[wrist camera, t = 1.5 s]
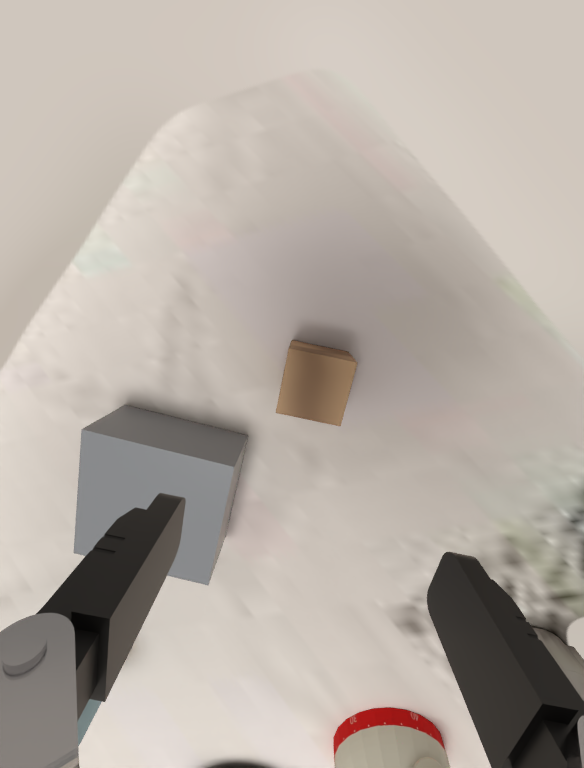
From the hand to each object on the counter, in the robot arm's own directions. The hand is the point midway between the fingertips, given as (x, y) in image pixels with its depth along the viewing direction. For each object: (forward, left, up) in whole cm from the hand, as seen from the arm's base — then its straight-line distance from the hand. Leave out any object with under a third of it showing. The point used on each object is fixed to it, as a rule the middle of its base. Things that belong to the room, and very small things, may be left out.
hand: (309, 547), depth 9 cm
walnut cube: (0, -1, -19) cm, 19 cm away
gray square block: (+11, +12, -19) cm, 25 cm away
